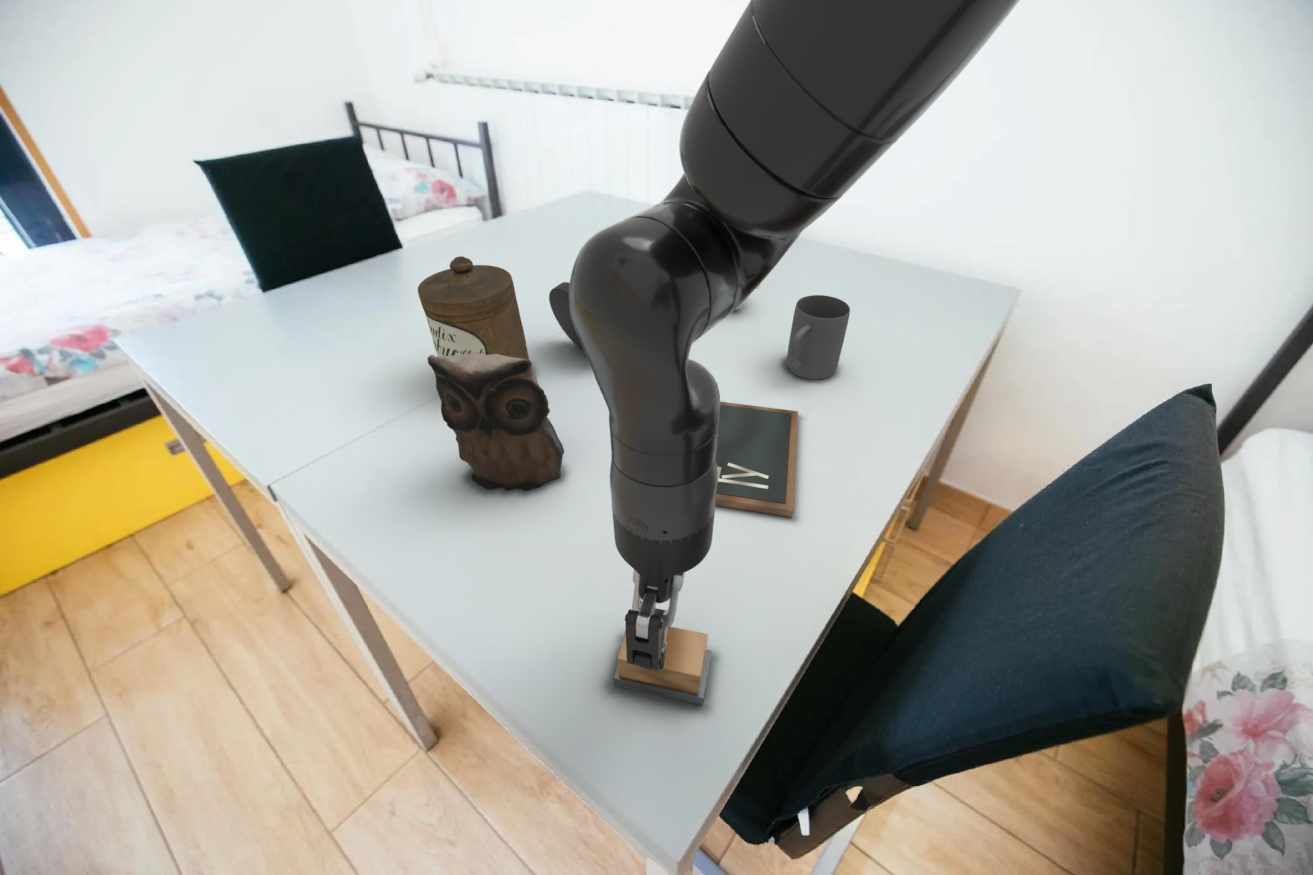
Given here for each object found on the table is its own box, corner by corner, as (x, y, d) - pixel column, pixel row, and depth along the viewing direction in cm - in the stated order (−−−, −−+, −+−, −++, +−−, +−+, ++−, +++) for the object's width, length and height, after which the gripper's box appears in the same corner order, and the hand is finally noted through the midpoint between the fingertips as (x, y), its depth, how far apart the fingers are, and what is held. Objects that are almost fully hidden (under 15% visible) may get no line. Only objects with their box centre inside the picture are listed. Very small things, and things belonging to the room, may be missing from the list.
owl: (571, 479, 77) (553, 357, 64) (487, 518, 71) (448, 394, 58) (533, 433, 85) (509, 317, 72) (454, 465, 79) (414, 346, 66)
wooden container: (430, 382, 96) (390, 261, 82) (497, 348, 105) (471, 234, 91) (481, 413, 89) (446, 287, 75) (548, 374, 98) (529, 255, 84)
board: (796, 417, 87) (798, 410, 86) (791, 517, 71) (793, 509, 70) (687, 403, 91) (687, 396, 90) (658, 496, 74) (658, 488, 73)
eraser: (710, 657, 56) (713, 632, 53) (702, 705, 52) (705, 681, 49) (627, 640, 58) (624, 614, 55) (613, 685, 54) (610, 660, 51)
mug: (800, 348, 104) (811, 290, 96) (845, 365, 99) (860, 304, 92) (762, 379, 96) (771, 317, 88) (809, 398, 91) (822, 335, 84)
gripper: (698, 589, 33) (688, 706, 43) (728, 441, 44) (714, 564, 54) (581, 566, 34) (599, 685, 45) (638, 428, 45) (642, 550, 55)
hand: (662, 619), depth 49 cm, fingers open, 8 cm apart
